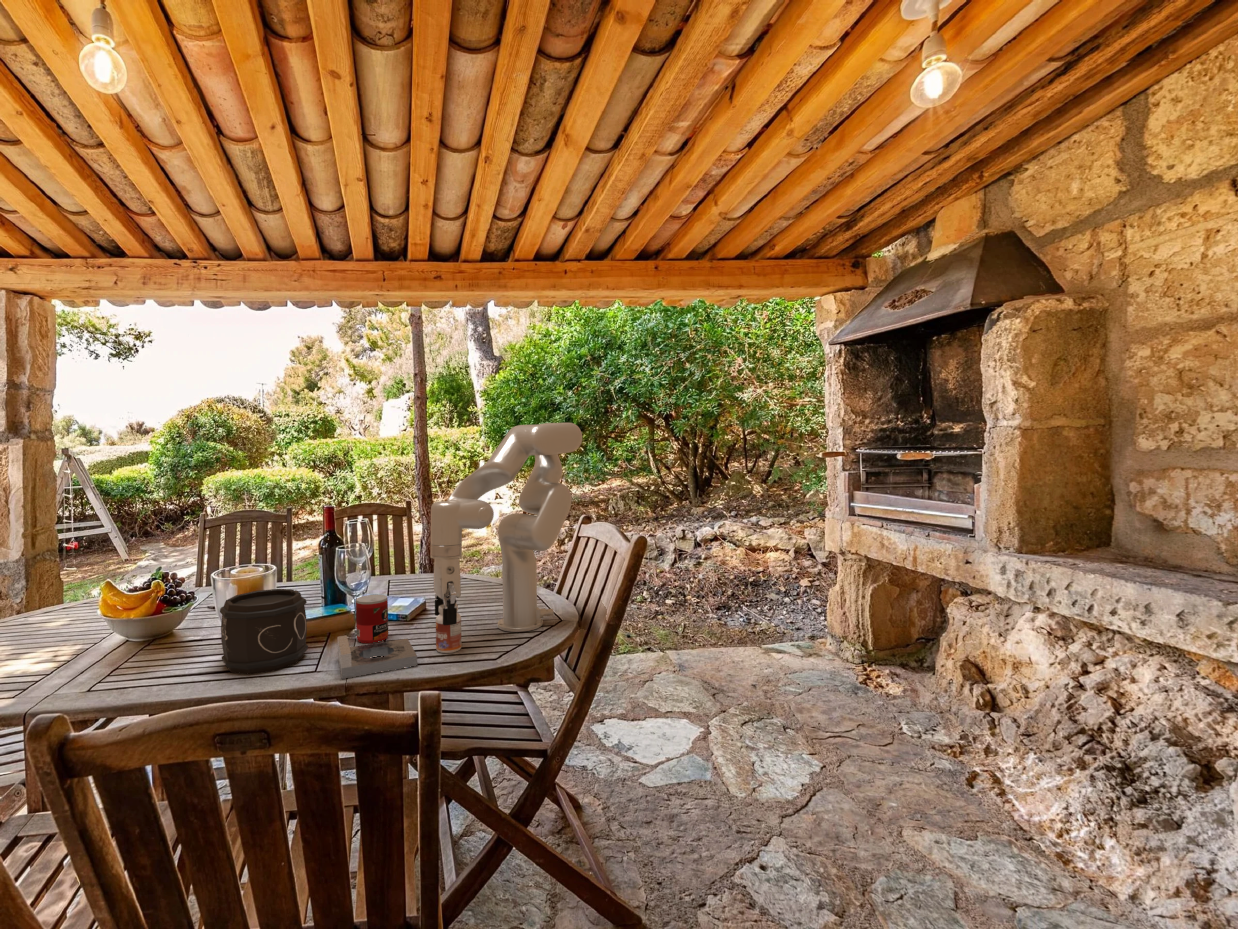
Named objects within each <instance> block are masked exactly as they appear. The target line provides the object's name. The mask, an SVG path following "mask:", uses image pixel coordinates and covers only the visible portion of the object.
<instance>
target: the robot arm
mask: <svg viewBox="0 0 1238 929" xmlns="http://www.w3.org/2000/svg"><path fill="white" fill-rule="evenodd" d="M582 442H583V434H582V431H581V429H580V427H579V426H578V425H577V424H575V423H573V422H546V423H541V424H518V425H516V426H513V427H511V428H510V429H509V430H508V432H507V433H506V435H505V436H504V437H503V438H502V440H501V441H500V443H498V444H499V445H498V446H497V447H496V448H495V450H494V451H493V453H492V454H491V456H490V457H489V458H488V460H487V461H486V463H484V464H483V465H481V466H480V467H479V468H477V469H475V470H474V471H473V472H471V474H469V475H468V476H466V477H465V478H464V479H463V480H461V482H459V483H458V485H457V486H456V487H455V489H454V490H453V491H452V492H451V494H450V496H449V497H447V500H440V501H436V502H435V501H434V502H433V503H432V504H431V506H430V550H429V551H430V552H429V553H430V556H429V557H430V559H433V560H434V562H433V591H434V593H435V595H434V616H436V617H437V616H438V615H439V614H440V613H439V606H440V605H443V604H444V609H443V625H453V624H456V623H457V613H458V612H457V605H458V604H457V601H458V600H457V599H460V598H461V596H462V592H461V591H462V589H461V588H462V587H461V568H460V567H461V566H460V565H461V564H460V559H459V558H463V557H462V555H463V554H462V553H463V550H462V549H463V530H464V529H465V530H466V529H468V530H481V529H484V528H487V527H488V526H489V525H490V524H491V523H492V521H493V520H494V516H495V514H494V509H493V507H492V506H491V504H490V503H488V502H487V501H485V500H481V499H480V498H482V496H484V495H485V494H487V493H488V492H491V491H494V490H496V489H498V488H501V487H504V486H506V485H508V484H509V483H511V482H513V481H514V479H515V478H516V477H517V475H518V473H519V472H520V470H521V469H522V467H523V466H524V464H525V463H526V461H527V460H528V459H529V457H530V456H534V460H535V462H534V466H533V468H532V470H531V472H530V475H529V477H528V478H527V480H526V482H525V484H524V486H523V489H522V490H521V492H520V494H519V498H518V505H519V507H520V509H521V510H522V511H524V512H526V513H519V512H518V513H511V514H508V515H505V516H504V517H503V518H502V520H500V522H499V524H498V528H497V534H498V536H497V537H498V541H499V544H500V552H501V563H502V570H501V572H502V618H500V619H499V620H498V621H497V628H498V629H500V630H501V631H504V632H508V633H509V632H512V633H518V632H519V633H520V632H521V633H522V632H523V633H524V632H529V631H533V630H537V629H539V628H541V627H542V626H543V624H544V623H543V622H544V620H543V618H544V617H551V616H552V617H553V616H554V615H555V612H554V609H553V608H547V609H546V607H543V608H539V607H538V590H537V589H538V588H537V586H538V582H537V581H538V580H537V579H538V578H537V576H538V574H537V572H538V571H537V569H538V568H537V567H538V566H537V559H536V558H537V557H536V555H535V553H534V551H535V552H544V551H547V550H549V549H551V547H552V546H553V545H554V544H555V542H556V540H557V539H558V537H559V535H560V532H561V531H562V528H563V526H564V524H565V522H566V519H567V517H568V516H569V513H570V510H571V506H572V501H573V500H572V494H571V491H570V489H569V487H568V486H567V485H566V484H563V483H561V482H560V480H561V479H562V476H563V466H562V462H561V459H560V456H559V455H560V454H561V455H562V454H567V453H573V452H575V451H576V450H578V449H579V448H580V446H581V445H582ZM527 513H528V514H527Z"/></svg>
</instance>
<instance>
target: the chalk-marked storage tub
mask: <svg viewBox="0 0 1238 929" xmlns="http://www.w3.org/2000/svg"><path fill="white" fill-rule="evenodd" d="M307 603H308V602H307V600H306V598H304V597H303V596H302V594H301V592H300V591H298V590H297V589H295V590H294V589H293V588H292V589H291V588H290V589H289V588H273V589H272V588H271V589H262V590H255V591H254V590H253V591H249V592H244V593H240V594H237V595H234V596H232V597H230V598H228V599H226V600H225V601H224V605H223V606H221V607H220V608H219V613H220V614H221V623H220V624H221V625H220V638H221V647H222V652H223V655H222V656H221V661H222V662H223V663H224V664H225V666H226V667H227V669H228V670H229V671H230V673H231V674H239V675H241V674H242V675H257V674H263V673H269V672H270V673H271V672H276V671H279V670H282V669H284V668H287V666H288V667H290V665H291V666H294V665H295V664H296V663H298V662H299V661H300V660H302V659H303V657H304V655H305V652H307V651H308V649H309V645H308V644H306V643H307V633H308V629H307V628H308V627H307V615H306V614H307V613H306V607H305V606H306V604H307ZM293 664H294V665H293Z"/></svg>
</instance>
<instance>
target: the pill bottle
mask: <svg viewBox="0 0 1238 929" xmlns="http://www.w3.org/2000/svg"><path fill="white" fill-rule="evenodd" d="M443 609H444V604H443V605H440V606H439V613H440V614H439V615H438V616H436V618H435V649H436V651H437V652H438V653H441V654H452V653H455V652H458V651H460V650H461V649H462V646H463V644H462V615H461V614H460V613H458V612H459V606H458V604H457V623H456V624H453V625H443Z"/></svg>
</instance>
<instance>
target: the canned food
mask: <svg viewBox="0 0 1238 929" xmlns="http://www.w3.org/2000/svg"><path fill="white" fill-rule="evenodd" d="M388 599H389V598H388V596H387V595H385V594H366V595H362V596H359V597H357V598H355V622H356V623H355V624H356V639H357V642H359V643H360V642H361V644H374V643H373V642H377V643H379V642H378V641H381V642H383V641H382V640H384V641H386V640H387V639H388V638H389V602H388ZM385 639H386V640H385Z"/></svg>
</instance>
